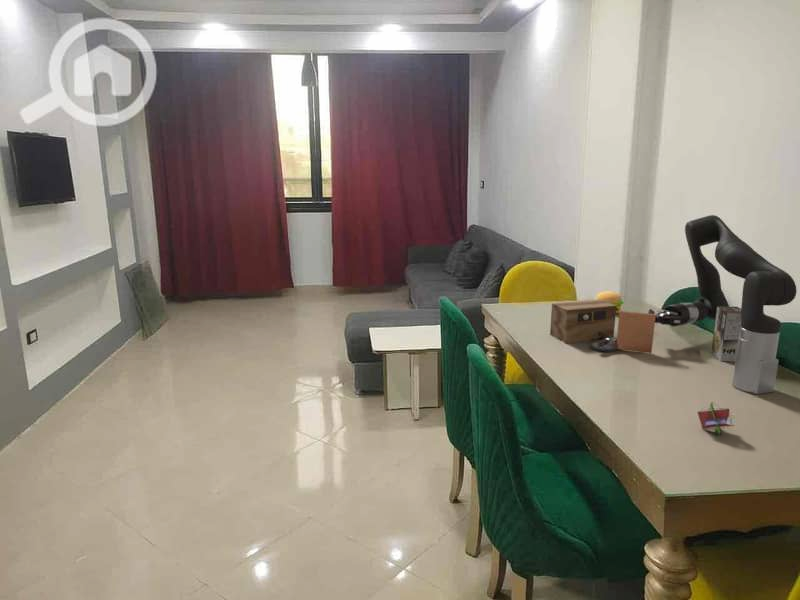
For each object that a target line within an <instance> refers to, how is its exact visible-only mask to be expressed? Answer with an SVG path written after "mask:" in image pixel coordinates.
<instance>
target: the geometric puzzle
mask: <svg viewBox="0 0 800 600" xmlns="http://www.w3.org/2000/svg"><path fill="white" fill-rule="evenodd" d="M713 404H714V402H713V401H712V402H711V403H710V404H709V408H708V409H707V410H706V409H705V410H703V409H704V408H705V407H706V406H705V407H703V408H701V409H700V410H699V411H697V415H698V418H699V422H700V425H701V428H702V430H703V429H704V430H706V429H707V431H708V432H709V430H712V429H716V430H717V433H718V434H717V433H715V432H714V430H712V433H715V434H716V435H717V436H719V437H720V436H721V432H722V431H723V429H724V428H725V429H726V427H727V428H729V427H730V428H731V427H734V426H735V415H734V414H733V413H732V411H731V409H730V408H721V407H722V405H721V404H720V405H719V406H718V404H715V406H716V407H718V409H715V406H714V405H713ZM708 429H709V430H708Z"/></svg>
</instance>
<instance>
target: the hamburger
mask: <svg viewBox="0 0 800 600" xmlns="http://www.w3.org/2000/svg"><path fill="white" fill-rule="evenodd" d="M598 299H600V300H602V301H605V302H608V303H610V304H613V305H616V314H619V312H620V311H622V310H621V309H622V305H623V304H624V300H623V299H622V297H621V295H620V294H618V293H617V292H614V291H611V290H606V291H601V292H599V293H598V294H597V295H596V297H595V298H594V299H593V300H598Z"/></svg>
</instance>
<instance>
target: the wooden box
mask: <svg viewBox="0 0 800 600" xmlns="http://www.w3.org/2000/svg"><path fill="white" fill-rule="evenodd" d="M615 325H616V305H613V304H610V303H608V302H605V301H602V300H600V299H598V300H594V299H590V300H589V299H587V300H577V301H576V300H575V301H565V302H563V301H562V302H554V303H553V302H552V303H551V313H550V330H549V335H550V336H551V335H552V337H553V336H554V338H555V337H556V338H555V339H556V340H559V341H561V342H562V341H563V342H562V343H564V344H567V343H579V342H587V341H590V340H591V339H593V338H601V337H599V336H598V331H602V332H604V333H605V334H607V335H608V336H610V337H614V338H615ZM578 341H579V342H578Z"/></svg>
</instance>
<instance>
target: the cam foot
mask: <svg viewBox="0 0 800 600" xmlns="http://www.w3.org/2000/svg"><path fill="white" fill-rule="evenodd" d="M655 317H656V314H649V313H648V312H647V313H646V312H637V311H626V310H621V311H620V312H619V313H618V323H617V325H618V326H617V335H616V337H615V336H614V337H610V336H608V335H607V334H605V333H604V332H602V331H598V336H599V337H601V338H593V339H591V340H589V347H590V348H591V349H593V350H595V351H598V352H604V353H605V352H606V353H607V352H609V353H611V352H615V351H617V350H622V351H631V352H632V351H633V352H639V353H648V354H652V351H653V343H654V333H655V326H656V325H655V324H656V323H655Z"/></svg>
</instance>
